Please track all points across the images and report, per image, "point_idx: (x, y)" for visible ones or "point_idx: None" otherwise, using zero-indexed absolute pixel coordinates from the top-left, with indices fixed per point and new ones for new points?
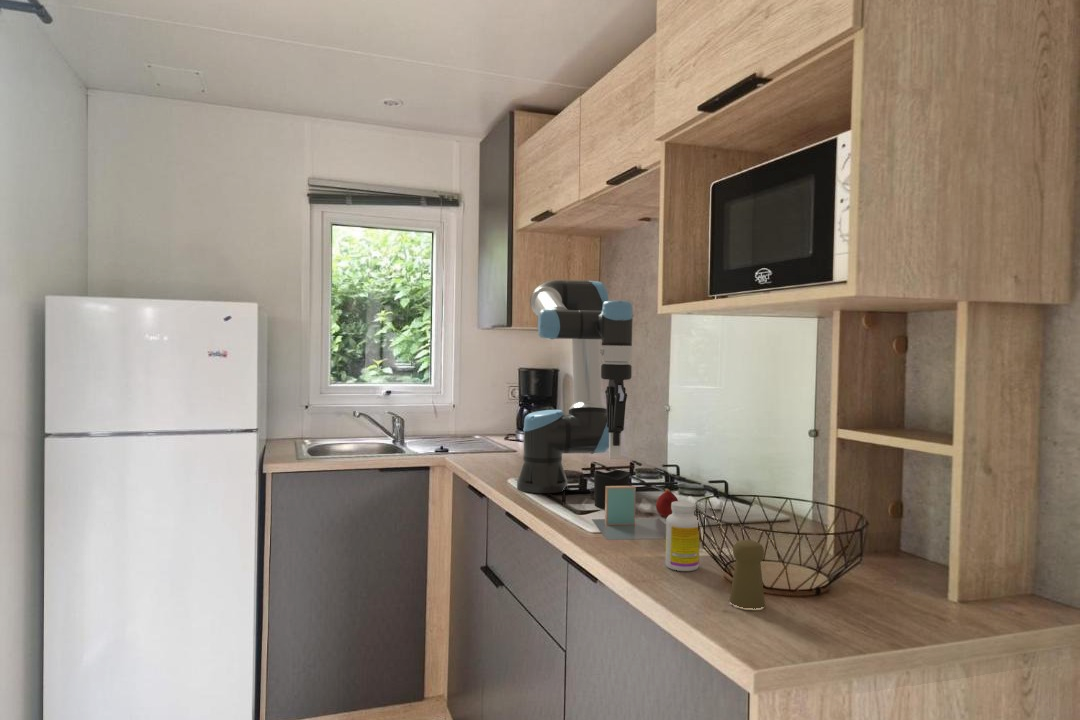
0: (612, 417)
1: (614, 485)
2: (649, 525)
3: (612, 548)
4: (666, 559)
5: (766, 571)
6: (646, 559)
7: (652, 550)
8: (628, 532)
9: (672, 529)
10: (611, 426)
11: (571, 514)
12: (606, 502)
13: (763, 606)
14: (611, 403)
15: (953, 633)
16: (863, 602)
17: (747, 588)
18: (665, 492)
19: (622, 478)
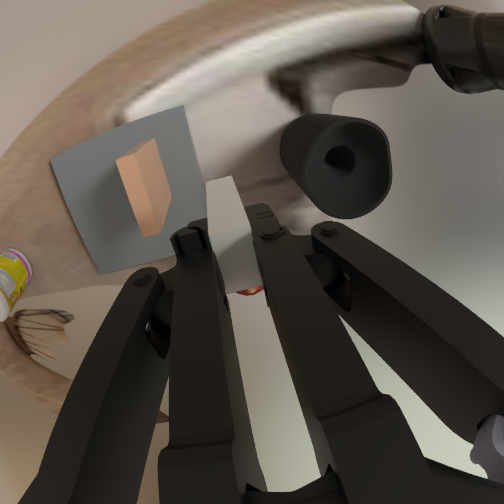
0: (171, 329)
1: (296, 168)
2: None
3: (42, 168)
4: (2, 253)
5: (53, 338)
6: (20, 223)
7: (55, 229)
8: (100, 191)
9: None
10: (202, 266)
11: (265, 60)
12: (129, 150)
13: None
14: (164, 463)
15: (21, 386)
16: (33, 371)
17: None
18: None
19: (308, 196)
